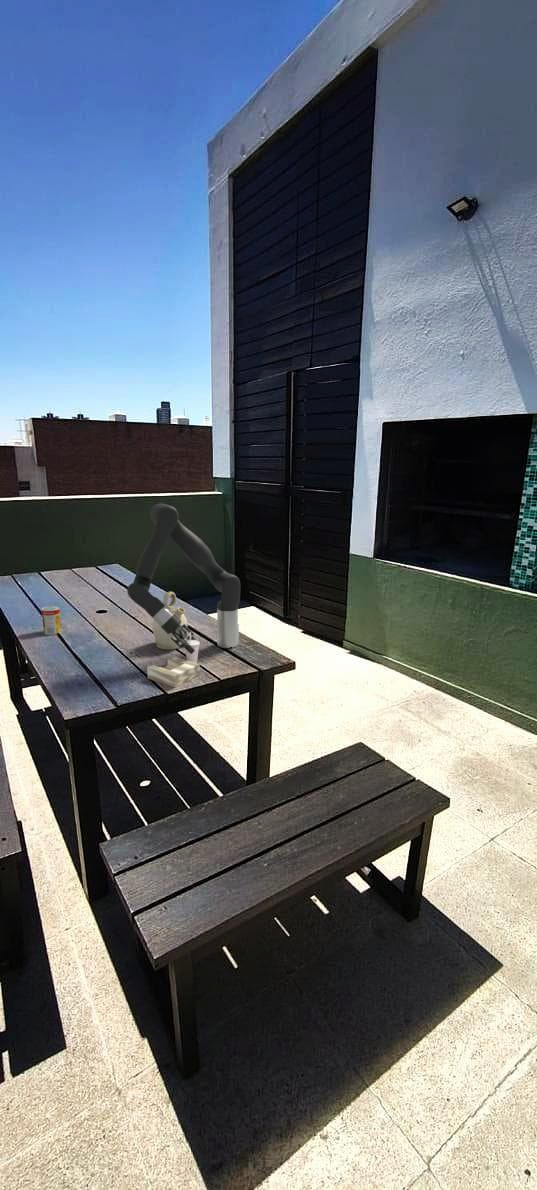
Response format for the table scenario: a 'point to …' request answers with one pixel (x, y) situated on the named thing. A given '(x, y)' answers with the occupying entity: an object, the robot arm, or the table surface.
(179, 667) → the notched board
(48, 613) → the canned food
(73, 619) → the table surface
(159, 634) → the jug
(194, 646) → the white cup with straw
